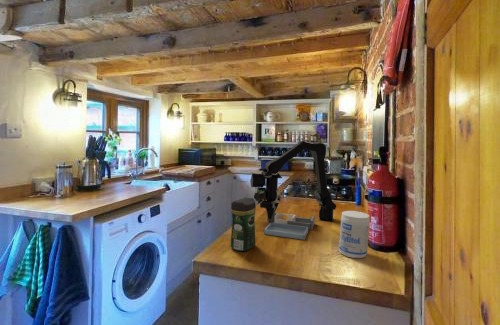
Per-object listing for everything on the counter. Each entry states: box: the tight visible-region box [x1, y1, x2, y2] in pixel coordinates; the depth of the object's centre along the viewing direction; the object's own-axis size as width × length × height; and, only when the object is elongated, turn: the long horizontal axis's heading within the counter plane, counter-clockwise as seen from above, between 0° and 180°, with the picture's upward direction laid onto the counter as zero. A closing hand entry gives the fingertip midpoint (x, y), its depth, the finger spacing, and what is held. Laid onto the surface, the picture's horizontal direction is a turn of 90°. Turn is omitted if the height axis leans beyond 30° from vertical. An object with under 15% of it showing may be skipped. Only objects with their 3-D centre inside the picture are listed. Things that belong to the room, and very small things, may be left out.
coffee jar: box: [230, 196, 257, 252], centre depth 101 cm, size 10×8×19 cm
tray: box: [263, 221, 309, 241], centre depth 119 cm, size 17×11×2 cm, turn 70°
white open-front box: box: [266, 212, 297, 224], centre depth 132 cm, size 13×6×4 cm, turn 70°
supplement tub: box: [338, 210, 371, 259], centre depth 98 cm, size 10×10×15 cm
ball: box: [281, 215, 288, 220], centre depth 132 cm, size 4×4×4 cm
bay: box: [287, 215, 315, 231], centre depth 129 cm, size 12×9×4 cm
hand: (270, 218), depth 134 cm, fingers closed on white open-front box, 3 cm apart
